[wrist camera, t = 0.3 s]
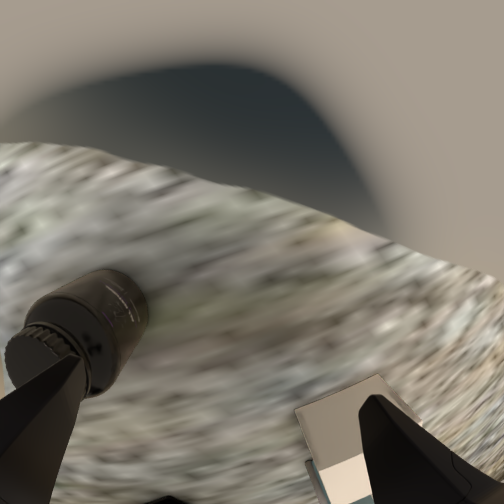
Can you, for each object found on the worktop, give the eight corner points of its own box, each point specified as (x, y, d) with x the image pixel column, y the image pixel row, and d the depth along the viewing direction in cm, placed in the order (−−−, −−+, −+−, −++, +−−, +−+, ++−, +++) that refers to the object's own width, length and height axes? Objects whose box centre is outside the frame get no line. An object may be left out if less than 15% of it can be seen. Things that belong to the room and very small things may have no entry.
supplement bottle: (158, 282, 22) (106, 351, 11) (141, 355, 23) (97, 451, 11) (82, 255, 21) (-11, 294, 10) (71, 328, 22) (-3, 399, 10)
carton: (311, 455, 27) (333, 509, 19) (293, 409, 26) (318, 471, 17) (383, 423, 27) (418, 468, 19) (377, 373, 26) (422, 420, 18)
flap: (303, 464, 27) (322, 515, 19) (313, 456, 27) (334, 507, 19) (350, 480, 28) (371, 522, 21) (358, 474, 28) (381, 515, 20)
